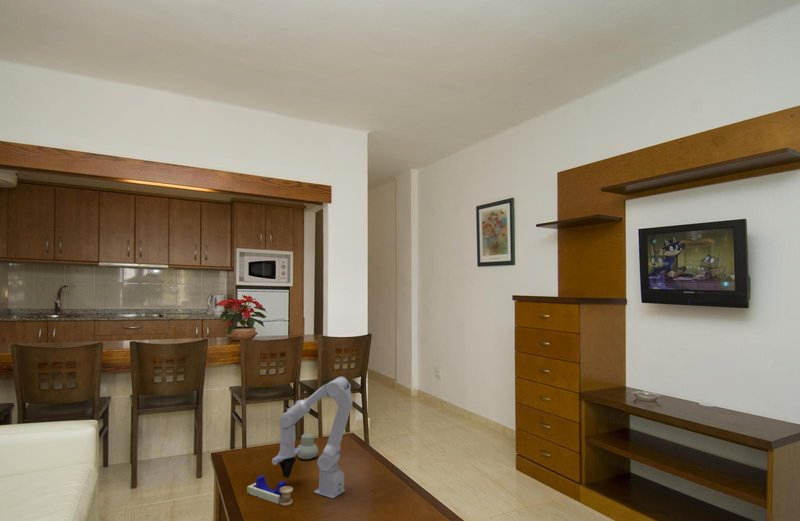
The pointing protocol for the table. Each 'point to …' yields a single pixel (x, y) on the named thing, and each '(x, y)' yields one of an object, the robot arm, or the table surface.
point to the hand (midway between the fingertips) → (286, 476)
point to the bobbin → (286, 495)
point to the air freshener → (307, 447)
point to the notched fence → (263, 494)
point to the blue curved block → (262, 485)
